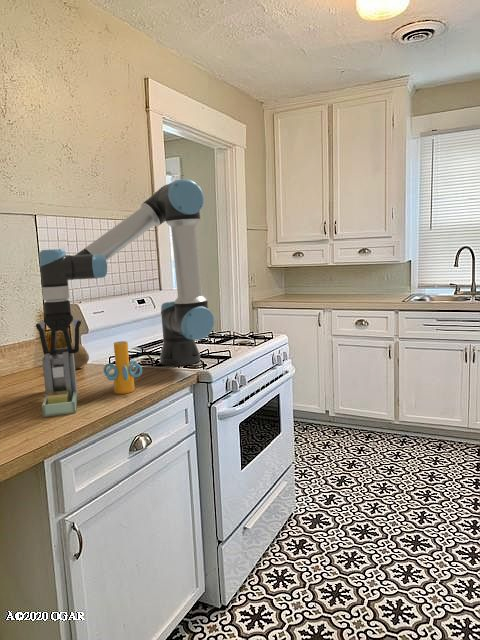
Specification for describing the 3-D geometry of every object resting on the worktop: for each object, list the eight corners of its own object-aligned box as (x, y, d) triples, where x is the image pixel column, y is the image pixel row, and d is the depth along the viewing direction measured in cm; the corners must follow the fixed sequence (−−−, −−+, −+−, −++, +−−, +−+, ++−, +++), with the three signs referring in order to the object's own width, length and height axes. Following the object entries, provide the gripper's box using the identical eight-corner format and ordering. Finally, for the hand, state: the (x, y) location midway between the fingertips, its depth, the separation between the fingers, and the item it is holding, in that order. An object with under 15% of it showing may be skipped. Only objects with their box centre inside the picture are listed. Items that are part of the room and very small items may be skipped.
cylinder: (103, 389, 152) (99, 341, 150) (137, 384, 156) (133, 337, 154) (109, 399, 141) (105, 347, 139) (146, 393, 145) (142, 343, 143)
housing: (77, 396, 145) (73, 346, 143) (76, 404, 137) (71, 351, 135) (48, 399, 143) (43, 349, 141) (45, 408, 134) (40, 354, 132)
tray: (77, 401, 140) (76, 391, 139) (75, 412, 129) (74, 401, 129) (47, 405, 137) (45, 395, 137) (43, 417, 127) (41, 405, 127)
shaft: (74, 365, 157) (72, 347, 157) (70, 381, 136) (68, 360, 136) (54, 367, 156) (52, 349, 155) (47, 384, 135) (45, 362, 134)
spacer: (69, 404, 136) (68, 390, 135) (68, 408, 132) (66, 394, 131) (50, 406, 135) (49, 392, 134) (48, 410, 131) (47, 396, 130)
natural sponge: (59, 369, 184) (56, 342, 183) (82, 364, 190) (79, 339, 189) (69, 372, 178) (66, 345, 176) (92, 367, 183) (90, 341, 182)
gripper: (84, 297, 156) (90, 370, 159) (30, 301, 151) (38, 376, 154) (83, 299, 148) (90, 375, 152) (26, 303, 144) (35, 381, 147)
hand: (64, 375), depth 153 cm, fingers closed on shaft, 3 cm apart
